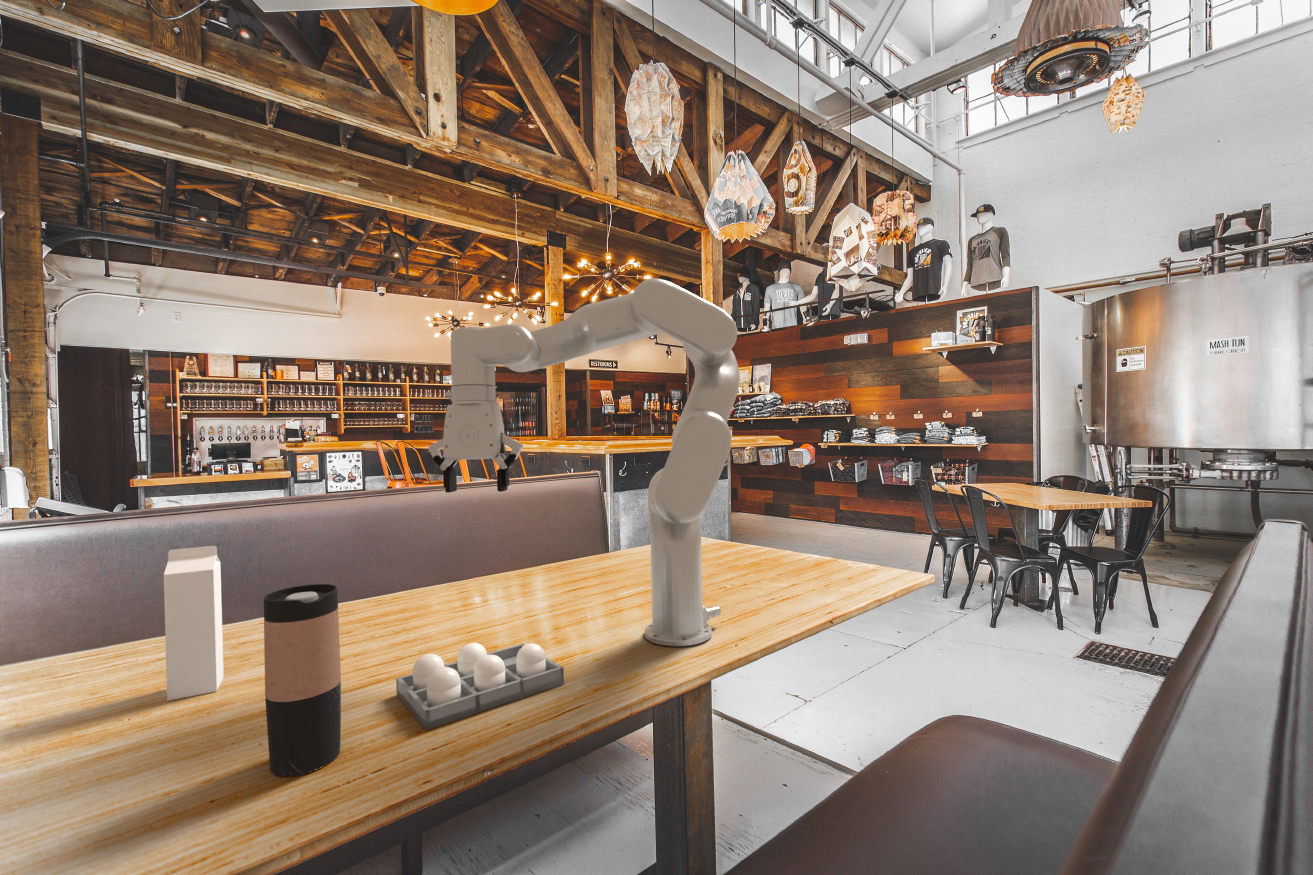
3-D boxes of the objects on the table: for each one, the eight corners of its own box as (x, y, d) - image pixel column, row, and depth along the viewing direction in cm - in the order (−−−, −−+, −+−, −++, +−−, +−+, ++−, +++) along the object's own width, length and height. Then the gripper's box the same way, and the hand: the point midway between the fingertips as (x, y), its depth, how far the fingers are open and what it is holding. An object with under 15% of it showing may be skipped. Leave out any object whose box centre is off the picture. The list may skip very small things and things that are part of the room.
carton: (523, 657, 97) (522, 623, 97) (564, 683, 86) (562, 644, 86) (396, 694, 84) (395, 654, 84) (426, 730, 74) (424, 684, 74)
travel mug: (290, 744, 71) (286, 585, 71) (354, 740, 72) (349, 582, 72) (252, 781, 63) (247, 602, 63) (323, 776, 64) (318, 599, 64)
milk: (217, 691, 87) (213, 548, 87) (166, 701, 84) (162, 553, 84) (224, 677, 92) (220, 542, 92) (176, 686, 90) (172, 546, 89)
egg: (438, 679, 87) (436, 646, 87) (450, 687, 84) (448, 653, 84) (409, 688, 84) (407, 655, 84) (420, 698, 81) (418, 663, 81)
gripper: (417, 397, 100) (420, 494, 100) (513, 393, 98) (515, 492, 98) (438, 399, 107) (441, 490, 107) (527, 396, 106) (529, 488, 106)
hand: (476, 491), depth 103 cm, fingers open, 9 cm apart
